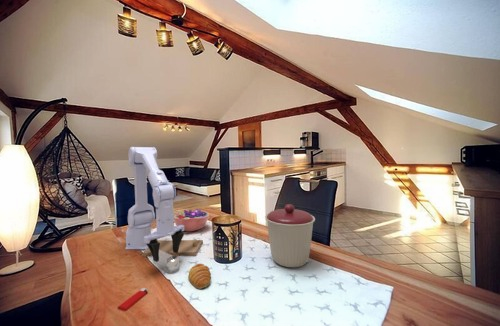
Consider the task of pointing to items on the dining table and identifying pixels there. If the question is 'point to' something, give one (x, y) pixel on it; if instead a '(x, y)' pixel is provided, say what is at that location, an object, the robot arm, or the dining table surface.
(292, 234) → the canister
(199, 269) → the pastry
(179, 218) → the cell model
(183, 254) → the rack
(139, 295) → the lighter
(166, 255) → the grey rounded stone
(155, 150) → the robot arm
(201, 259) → the dining table surface
